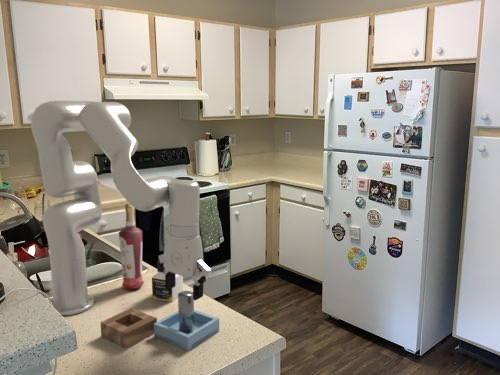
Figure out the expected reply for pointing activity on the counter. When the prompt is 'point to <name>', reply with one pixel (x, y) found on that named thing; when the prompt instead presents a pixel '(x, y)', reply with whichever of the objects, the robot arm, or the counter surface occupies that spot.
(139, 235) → the liquor
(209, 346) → the counter surface
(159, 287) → the medicine bottle
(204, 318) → the tray
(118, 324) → the hole block
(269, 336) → the counter surface
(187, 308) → the peg
